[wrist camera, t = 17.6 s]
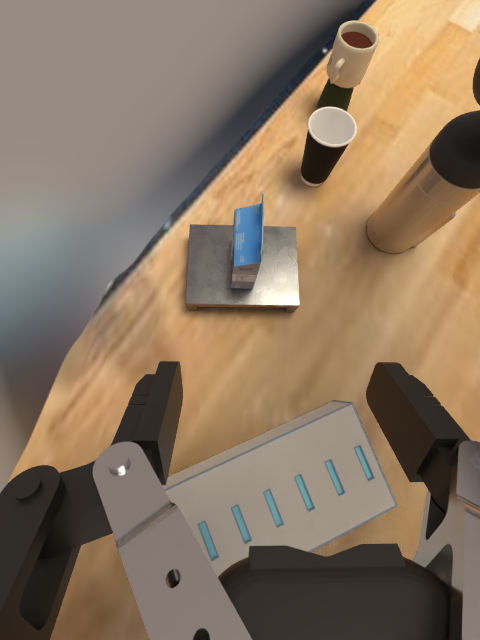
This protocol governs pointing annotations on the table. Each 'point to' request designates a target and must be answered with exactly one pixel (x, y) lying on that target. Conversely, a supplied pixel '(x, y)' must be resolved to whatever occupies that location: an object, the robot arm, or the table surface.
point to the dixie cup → (325, 143)
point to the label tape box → (247, 245)
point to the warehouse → (284, 487)
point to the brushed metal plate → (215, 270)
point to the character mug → (348, 62)
